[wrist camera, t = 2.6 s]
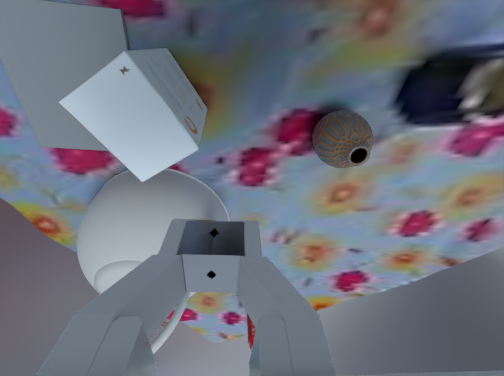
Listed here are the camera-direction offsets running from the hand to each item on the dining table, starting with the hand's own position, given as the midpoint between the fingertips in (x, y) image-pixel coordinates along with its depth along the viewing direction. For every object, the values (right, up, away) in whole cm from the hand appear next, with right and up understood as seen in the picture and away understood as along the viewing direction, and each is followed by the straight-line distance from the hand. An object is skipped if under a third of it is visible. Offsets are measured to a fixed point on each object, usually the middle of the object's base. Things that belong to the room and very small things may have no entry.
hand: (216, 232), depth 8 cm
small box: (-9, +13, +19) cm, 25 cm away
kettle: (-13, -4, +31) cm, 34 cm away
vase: (+13, +10, +23) cm, 28 cm away
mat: (-20, +14, +19) cm, 31 cm away
